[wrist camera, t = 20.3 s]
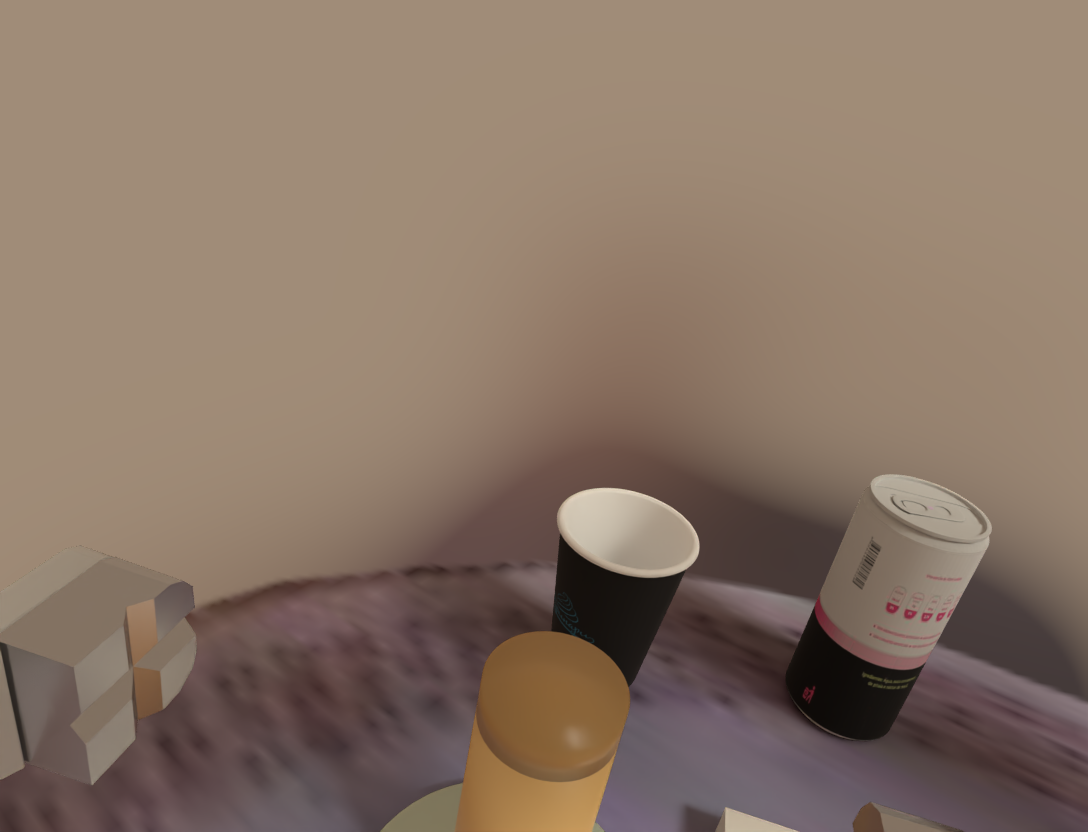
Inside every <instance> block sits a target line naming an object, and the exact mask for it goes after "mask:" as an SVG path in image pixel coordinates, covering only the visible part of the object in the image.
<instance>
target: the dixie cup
mask: <svg viewBox="0 0 1088 832" xmlns="http://www.w3.org/2000/svg"><path fill="white" fill-rule="evenodd" d="M557 524H558V528H559V531H560V540H559V553H558V563H557V575H556V586H555V597H554V609H553V620H552V632H559V633H564V634H568V635H572V636H575V637H577V638H580V639H582V640H585V641H587V642H589V643H591V644H592V645H594V646H596V647H597V648H599V649H600V650H601V651H603V652H604V653H605V654H606V655H608V656H609V657H610V658H611V659H612V660H613V661H614V663H615V664H616V665H617V666H618V668H619V669H620V670H621V672H622V674H623V676H624V677H625V680H626V682H627V685H628V687H629V686H630V685H631V684H632V683H633V681H634V679H635V678H636V675H637V673H638V671H639V669H640V667H641V665H642V663H643V660H644V658H645V656H646V654H647V652H648V650H649V648H650V646H651V643H652V641H653V639H654V637H655V635H656V633H657V631H658V628H659V626H660V624H661V622H662V620H663V618H664V616H665V613H666V611H667V609H668V607H669V605H670V603H671V601H672V599H673V596H674V594H675V592H676V590H677V588H678V586H679V584H680V581H681V579H682V577H683V575H684V573H685V571H686V569H687V568H688V567H690V566H691V565H692V563H693V562H694V561H695V559H696V558H697V556H698V553H699V539H698V536H697V534H696V532H695V530H694V528H693V527H692V526H691V525H690V523H689V522H688V521H687V520H686V519H685V518H684V517H683V516H682V515H681V514H680V513H679V512H677V511H676V510H675V509H673V508H672V507H670V506H668V505H667V504H665V503H663V502H661V501H659V500H657V499H655V498H652V497H650V496H647V495H644V494H641V493H638V492H634V491H629V490H624V489H616V488H596V489H589V490H585V491H581V492H579V493H576V494H574V495H572V496H570V497H569V498H568V499H566V500H565V501H564V502H563V504H562V505H561V506H560V509H559V511H558V514H557Z"/></svg>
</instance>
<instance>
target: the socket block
mask: <svg viewBox="0 0 1088 832" xmlns="http://www.w3.org/2000/svg"><path fill="white" fill-rule="evenodd" d="M715 832H799V831H796V830H793V829H790V828H787V827H784V826H781V825H778V824H775V823H772V822H769V821H766V820H763V819H760V818H757V817H754V816H751V815H748V814H745V813H742V812H739V811H736V810H733V809H730V808H727V807H725V810H724V812H723V814H722V817H721V819H720V821H719V824H718V826H717V828H716V831H715Z"/></svg>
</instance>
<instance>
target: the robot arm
mask: <svg viewBox="0 0 1088 832" xmlns="http://www.w3.org/2000/svg"><path fill="white" fill-rule="evenodd" d="M194 608H195V605H194V595H193V586H191V585H189V584H188V583H186V582H184V581H182V580H179V579H176V578H173V577H170V576H168V575H165V574H162V573H159V572H156V571H154V570H151V569H148V568H145V567H142V566H139V565H136V564H133V563H131V562H128V561H125V560H123V559H120V558H117V557H112V556H109V555H106V554H104V553H100V552H98V551H95V550H92V549H89V548H86V547H84V546H76V547H71V548H66V549H64V550H62V551H61V552H59V553H58V554H56V555H55V556H54V557H52V558H50V559H49V560H47V561H46V562H44V563H43V564H41V565H40V566H38V567H37V568H35V569H34V570H32V571H31V572H29V573H28V574H26V575H25V576H23V577H22V578H20V579H19V580H17V581H15V582H14V583H13V584H11V585H9V586H8V587H7V588H5V589H3V590H2V591H1V592H0V780H1V779H3V778H5V777H7V776H9V775H11V774H13V773H15V772H17V771H19V770H21V769H23V768H24V767H25V763H27V764H30V765H33V766H36V767H39V768H42V769H45V770H48V771H51V772H53V773H56V774H59V775H62V776H65V777H68V778H71V779H74V780H77V781H80V782H83V783H86V784H89V785H93V784H94V783H95V782H96V781H97V779H98V778H99V777H100V776H101V775H102V774H103V773H104V772H105V771H106V770H107V769H108V768H109V767H110V766H111V765H112V764H113V763H114V761H115V760H116V759H117V758H118V757H119V756H120V755H121V754H122V753H123V752H124V751H125V750H126V749H127V748H128V747H129V746H130V745H131V744H132V742H133V741H134V740H135V739H136V733H137V725H138V720H140V719H142V718H145V717H147V716H149V715H152V714H154V713H157V712H159V711H162V710H163V709H164V708H165V707H166V706H167V705H168V704H169V703H170V702H171V701H172V699H173V698H174V697H175V696H176V695H177V694H178V693H179V692H180V690H181V688H182V687H183V685H184V683H185V681H186V679H187V677H188V676H189V674H190V672H191V670H192V668H193V664H194V660H195V655H196V651H197V645H196V634H195V632H194V631H193V629H192V628H191V626H190V625H189V623H188V622H187V620H186V619H185V616H186V615H187V614H188V613H189V612H190V611H192V610H193V609H194ZM853 830H854V832H964V831H962V830H959V829H956V828H953V827H949V826H946V825H943V824H940V823H936V822H933V821H930V820H927V819H924V818H920V817H917V816H914V815H911V814H908V813H904V812H901V811H898V810H895V809H891V808H888V807H885V806H882V805H879V804H875V803H872V802H869V803H868V804H867V805H865V806H864V807H862V808H861V809H860V811H859V813H858V815H857V816H856V818H855V820H854V822H853Z"/></svg>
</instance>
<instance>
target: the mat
mask: <svg viewBox="0 0 1088 832" xmlns="http://www.w3.org/2000/svg"><path fill="white" fill-rule="evenodd" d="M462 786H463V783H460V784H456V785H452V786H448V787H445V788H443V789H440V790H437V791H435V792H432V793H430V794H428V795H426V796H424V797H423V798H421V799H419V800H417V801H415V802H414V803H412V804H411V805H409V806H408V807H407V808H405V809H404V810H402V811H401V812H400V813H399V814H397V815H396V816H395V817H394V818H393V819H392V820H391V821H390V822H389V823H387V824H386V825H385V827H384V828H383V829H382V830H381V831H380V832H454V831H455V825H456V820H457V814H458V809H459V803H460V797H461V792H462ZM592 832H605V831H604V830H603V829H602V828H601V827H600V826H599V825H598V824H597V823H596V822H595V823H594V827H593V830H592Z"/></svg>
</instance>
